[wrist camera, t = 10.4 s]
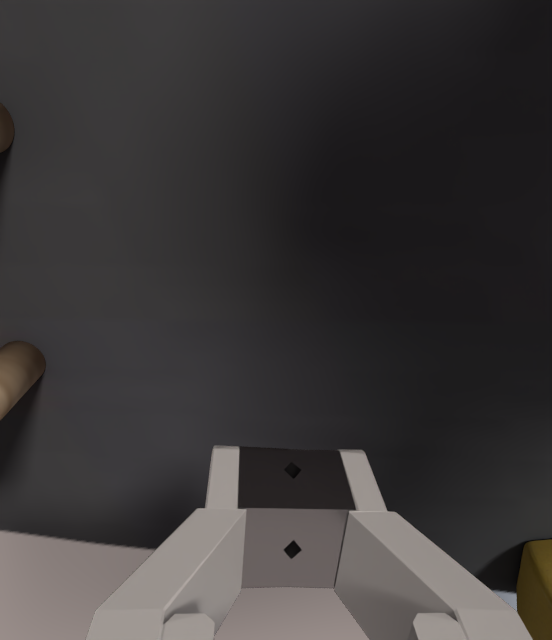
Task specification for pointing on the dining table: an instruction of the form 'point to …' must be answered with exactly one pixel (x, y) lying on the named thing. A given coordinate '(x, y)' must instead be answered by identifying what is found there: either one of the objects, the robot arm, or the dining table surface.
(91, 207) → the dining table surface
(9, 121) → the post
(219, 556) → the robot arm
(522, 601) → the flower pot
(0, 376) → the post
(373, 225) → the dining table surface
